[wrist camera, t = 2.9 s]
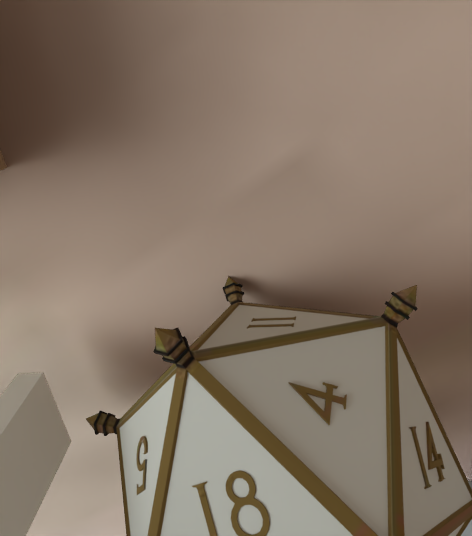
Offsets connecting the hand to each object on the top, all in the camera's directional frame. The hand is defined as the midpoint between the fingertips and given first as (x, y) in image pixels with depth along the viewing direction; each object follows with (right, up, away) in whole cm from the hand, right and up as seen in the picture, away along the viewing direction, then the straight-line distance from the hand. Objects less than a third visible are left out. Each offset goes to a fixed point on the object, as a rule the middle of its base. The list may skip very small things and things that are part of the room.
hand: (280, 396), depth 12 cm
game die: (0, +1, +2) cm, 2 cm away
